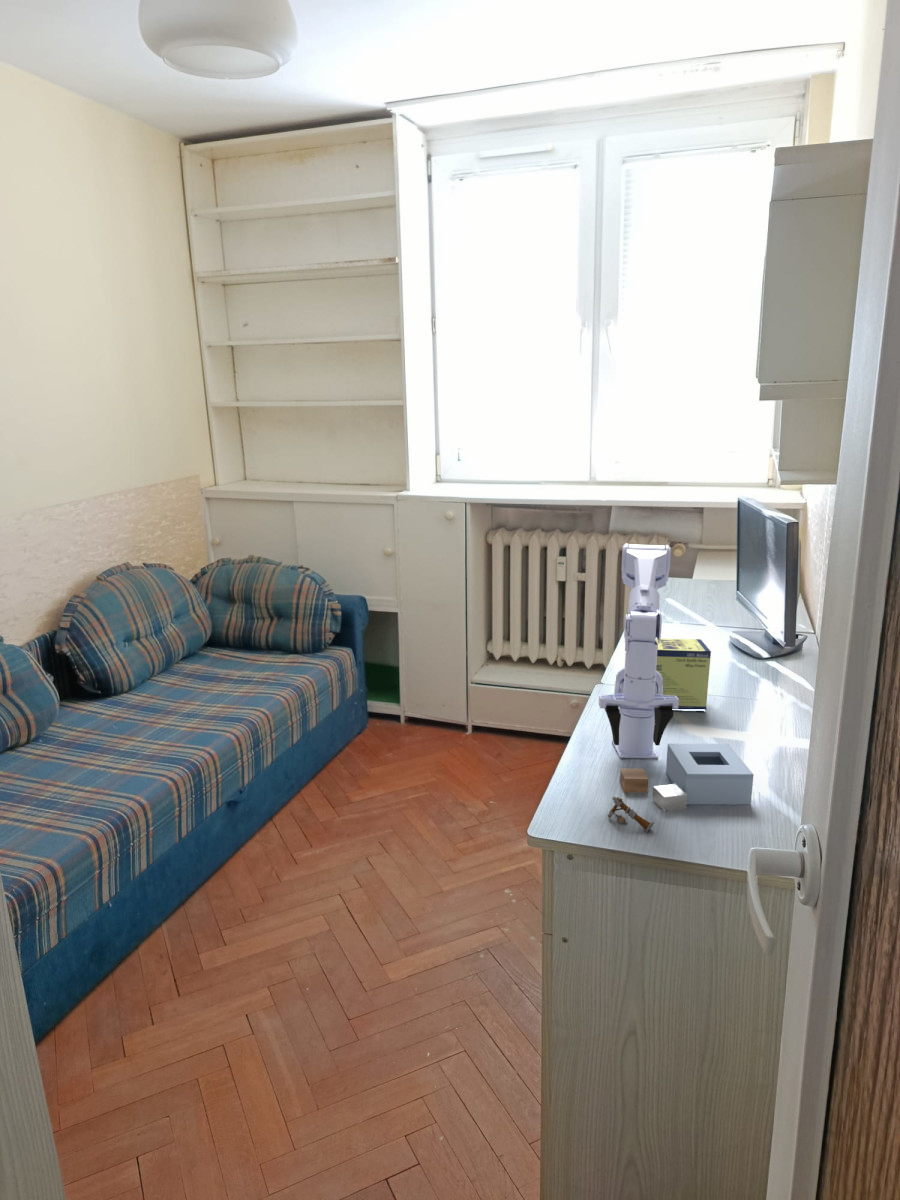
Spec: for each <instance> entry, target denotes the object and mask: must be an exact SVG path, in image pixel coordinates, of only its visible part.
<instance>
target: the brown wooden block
mask: <svg viewBox="0 0 900 1200" xmlns="http://www.w3.org/2000/svg"><path fill="white" fill-rule="evenodd" d="M619 769H620V770H619V784H620V786H621V788H622V792H623V793H626V792H627V793H628V794H629V792H630V793H631V794H632V793H633V794H634V793H636V794H637V793H639V794H641V793H642V794H645V793H646V794H648V792H649V783H650V782H649V777H648V775H647V773H646V770H645V769H644V768H619Z"/></svg>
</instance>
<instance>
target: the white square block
mask: <svg viewBox="0 0 900 1200" xmlns="http://www.w3.org/2000/svg"><path fill="white" fill-rule="evenodd" d="M651 795H652V797H651V800H653V801H654V802H655V803H656V804H657V805H656V804H655V805H656V806H658V808H659V809H661V808H662V809H663V810H672V811H679V809H681V810H687V806H688V804H687V794H686V793H685V792H684V791H683V790H682V789H680V788H679V787H678V786H677V785H676V784H673V783H671V784H661V785H653V786H652V794H651ZM653 801H652V802H653ZM654 802H653V803H654ZM662 809H661V810H662ZM663 810H662V811H663Z"/></svg>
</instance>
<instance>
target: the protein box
mask: <svg viewBox="0 0 900 1200" xmlns="http://www.w3.org/2000/svg"><path fill="white" fill-rule="evenodd" d="M655 640H656V642H657V643H658V639H657V638H655ZM711 653H712V651H711V650H710V648H708V646H707V645H706V644H705V642H703V640H702V639H699V638H696V639H695V638H686V639H685V638H661V639H660V642H659V643H658V649H657V665H656V671H658V672H659V673H660V674H661V676H662V678H663V684H662V685H663V695H670V696H677V698H678V699H679V704H678V709H706V710H707V701H708V690H709V679H710V678H709V677H710V669H711V658H712V657H711ZM672 709H673V708H672Z"/></svg>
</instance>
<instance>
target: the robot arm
mask: <svg viewBox="0 0 900 1200" xmlns="http://www.w3.org/2000/svg"><path fill="white" fill-rule="evenodd" d="M621 550H622V552H621V580H622V583H623V584H624V586H625V585H626V586H627V587H629V588H630V589H631V590H630V592H629V594H628V604H627V605H628V607H627V613H626V614H625V617H624V628H623V629H624V630H623V631H624V632H623V635H624V636H623V638H624V651H625V653H624V654H625V656H624V667H623V668H621V669H619V670H618V671H617V673H616V674H615V682H614V692H613V694H603V695H602V694H601V695H600V694H599V695H598V706H599V709H604V710H605V713H606V717H607V719H608V721H609V725H610V729H611V734H612V738H611V742H612V744H613V747H614V748H615V751H616V753H617V754H618V757H619V758H620V759H658V758H659V755H658V754H657V752H656V749H655V748H654V745H655V746H660V744H661V740H662V738H663V735H664V732H665V730H666V728H667V726H668V724H669V723H670V722H671V720H672V719H673V717H674V712H675V711H673V710H672V708H673V709H678V704H679V699H678V698H677V696H670V695H663V685H662V684H663V678H662V676H661V674H660V673H659V672H658V671H656V665H657V649H658V643H659V642H660V639H662V624H663V623H662V622H663V619H662V613H661V609H660V600H661V599H660V593H659V591H658V590H659V589H661V588H664V587H666V586H667V582H668V581H669V575H670V574H669V573H670V571H671V553H672V547H671V546H669V544H665V545H660V544H658V545H657V544H636V543H635V544H634V543H633V544H632V543H628V542H626V543H624V544H623V545H622V549H621ZM655 639H658V643H657V642H656V640H655Z"/></svg>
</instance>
